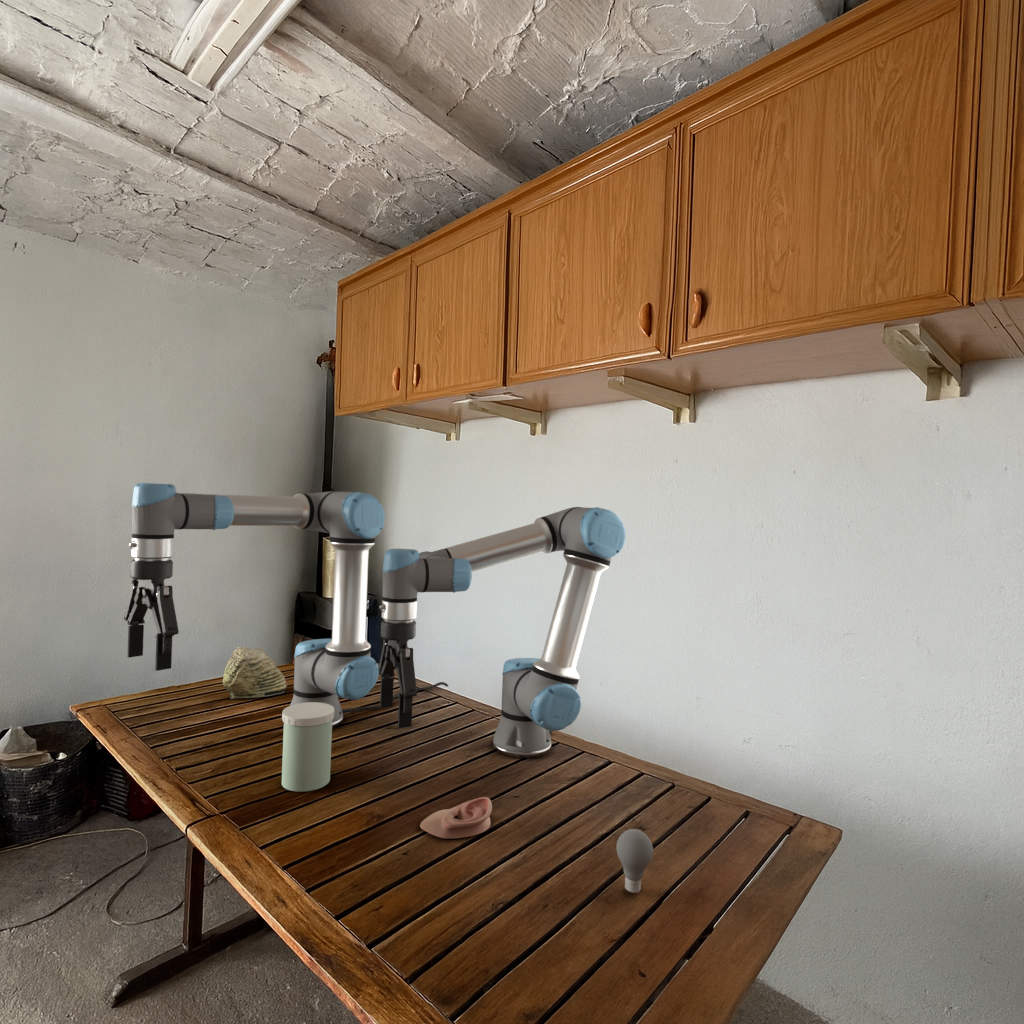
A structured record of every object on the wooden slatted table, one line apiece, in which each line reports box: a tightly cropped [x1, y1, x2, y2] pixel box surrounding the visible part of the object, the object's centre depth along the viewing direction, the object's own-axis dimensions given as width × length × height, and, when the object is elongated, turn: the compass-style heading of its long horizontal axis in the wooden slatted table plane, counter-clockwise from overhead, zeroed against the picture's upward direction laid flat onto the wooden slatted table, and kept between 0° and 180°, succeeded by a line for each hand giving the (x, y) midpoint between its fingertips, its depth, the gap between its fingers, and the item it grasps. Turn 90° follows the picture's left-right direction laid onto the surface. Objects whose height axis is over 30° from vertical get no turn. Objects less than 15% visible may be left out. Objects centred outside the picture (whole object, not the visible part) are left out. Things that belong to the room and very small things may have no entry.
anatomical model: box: [419, 796, 493, 840], centre depth 124 cm, size 13×4×12 cm
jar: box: [281, 720, 333, 793], centre depth 141 cm, size 10×10×15 cm
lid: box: [281, 702, 335, 727], centre depth 140 cm, size 11×11×2 cm
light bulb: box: [615, 828, 654, 894], centre depth 106 cm, size 6×6×10 cm
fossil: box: [222, 646, 288, 699], centre depth 198 cm, size 9×18×15 cm, turn 132°
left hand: (148, 662), depth 129 cm, fingers open, 13 cm apart
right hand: (395, 716), depth 139 cm, fingers open, 13 cm apart
